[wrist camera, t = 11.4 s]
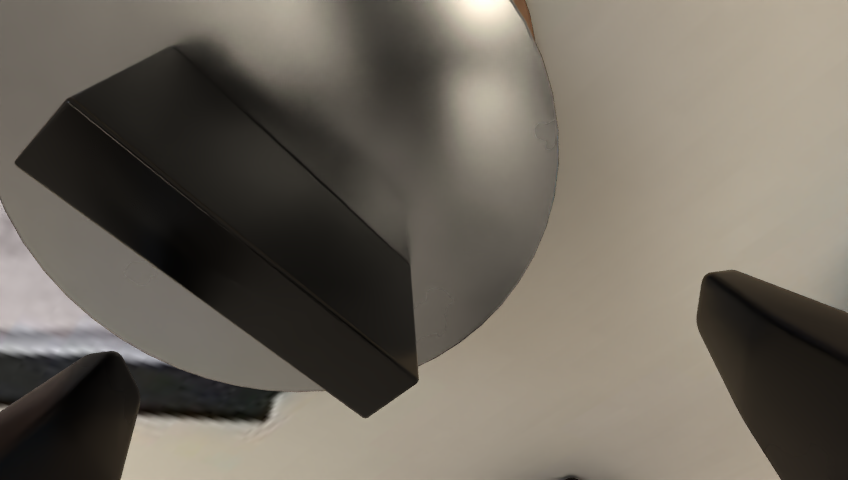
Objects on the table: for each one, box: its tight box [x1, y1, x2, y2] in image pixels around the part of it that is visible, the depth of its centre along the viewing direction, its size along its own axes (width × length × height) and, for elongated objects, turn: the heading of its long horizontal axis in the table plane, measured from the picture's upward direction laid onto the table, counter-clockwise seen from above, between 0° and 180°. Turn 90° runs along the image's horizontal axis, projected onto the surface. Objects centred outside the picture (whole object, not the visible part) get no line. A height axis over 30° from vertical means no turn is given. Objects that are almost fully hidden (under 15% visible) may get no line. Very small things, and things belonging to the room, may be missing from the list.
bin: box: [0, 0, 559, 418], centre depth 14 cm, size 12×12×11 cm
